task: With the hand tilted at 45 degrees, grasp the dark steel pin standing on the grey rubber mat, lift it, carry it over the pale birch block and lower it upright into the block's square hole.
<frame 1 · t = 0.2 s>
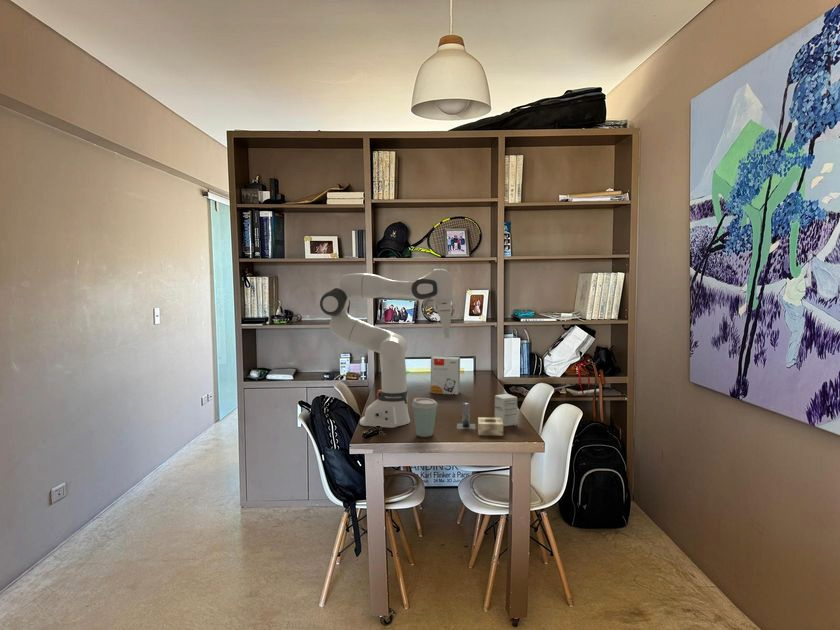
hand: (447, 337, 234), 38 cm above the table, tool pointing down, fingers open, 8 cm apart
rubber mat: (466, 427, 230), on the table
supplement box: (505, 424, 235), on the table
disposable coffee cup: (424, 436, 219), on the table
steel pin: (466, 426, 230), resting on rubber mat
hard drive box: (445, 393, 297), on the table
birch block: (490, 432, 223), on the table
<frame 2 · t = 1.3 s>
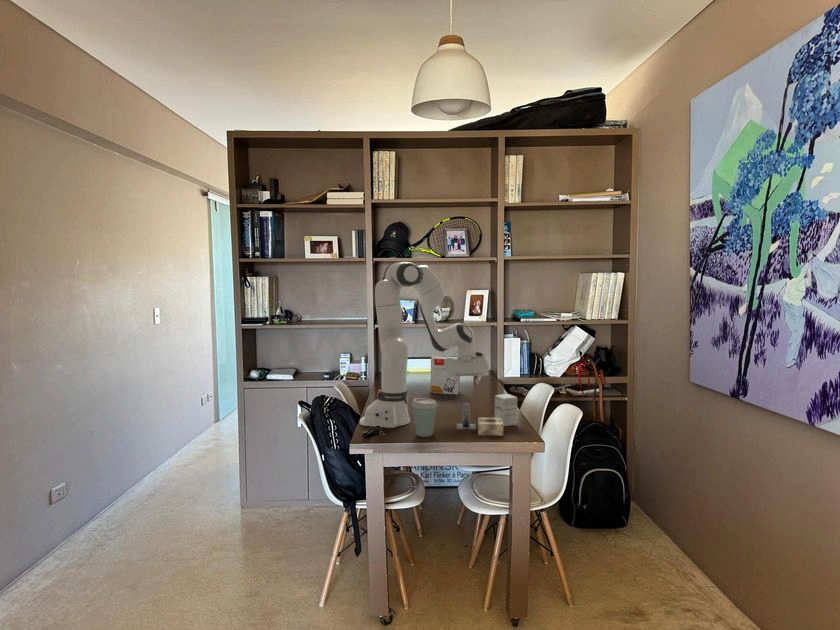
hand: (466, 383, 241), 17 cm above the table, tool tilted 45°, fingers open, 8 cm apart
nothing on the table moved.
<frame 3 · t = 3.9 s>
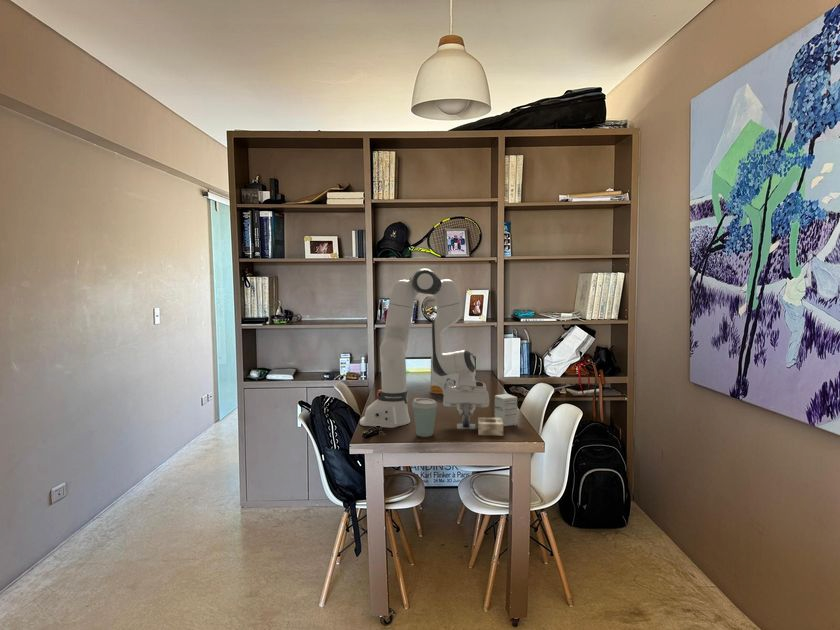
hand: (466, 414, 229), 6 cm above the table, tool tilted 45°, fingers closed on steel pin, 3 cm apart
steel pin: (466, 426, 230), resting on rubber mat, touching gripper
everything else where it was.
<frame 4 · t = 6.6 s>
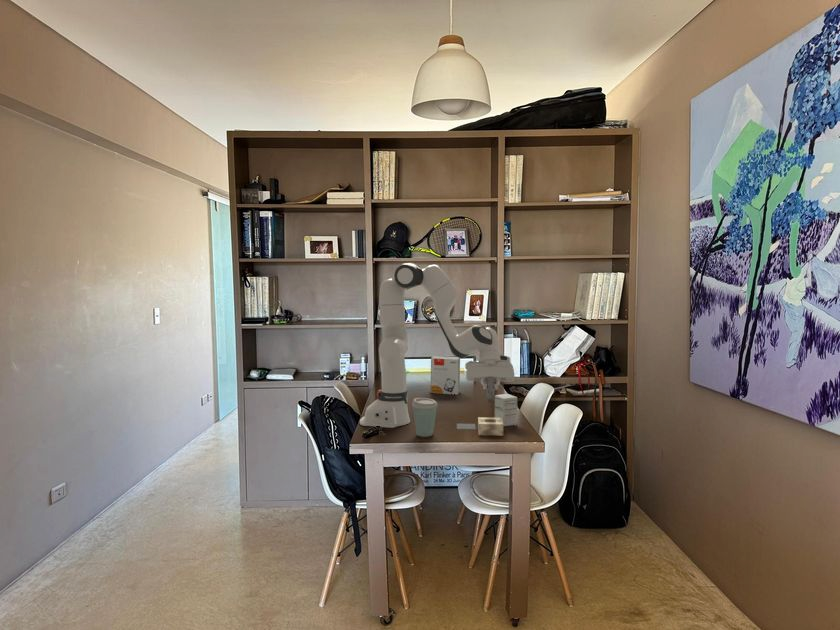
hand: (490, 388, 221), 19 cm above the table, tool tilted 45°, fingers closed on steel pin, 3 cm apart
steel pin: (490, 401, 222), point 13 cm above the table, touching gripper
everything else where it was.
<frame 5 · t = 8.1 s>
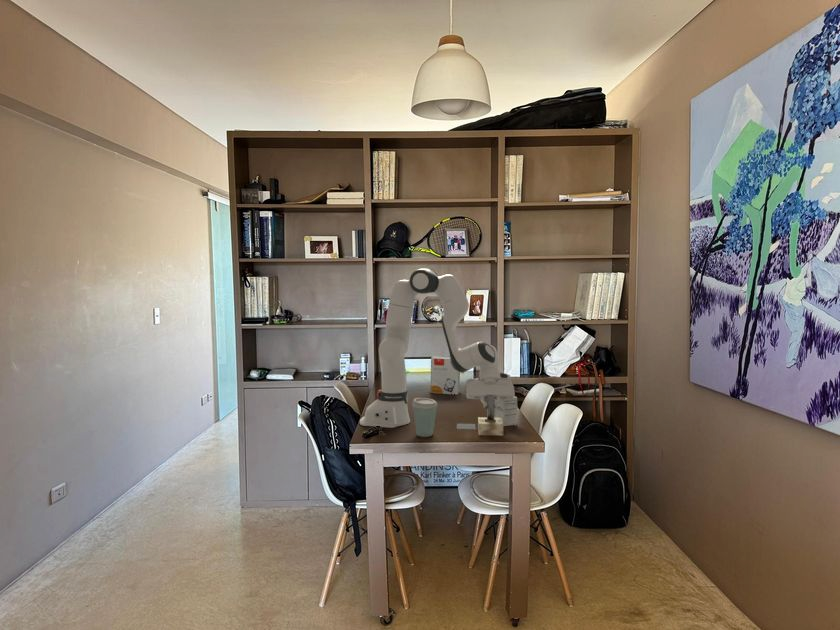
hand: (490, 407, 221), 11 cm above the table, tool tilted 45°, fingers closed on steel pin, 3 cm apart
steel pin: (490, 419, 222), point 6 cm above the table, touching gripper
everything else where it was.
when the fingers open (7 cm above the table, at t = 9.3 s): steel pin drops 2 cm, resting in birch block.
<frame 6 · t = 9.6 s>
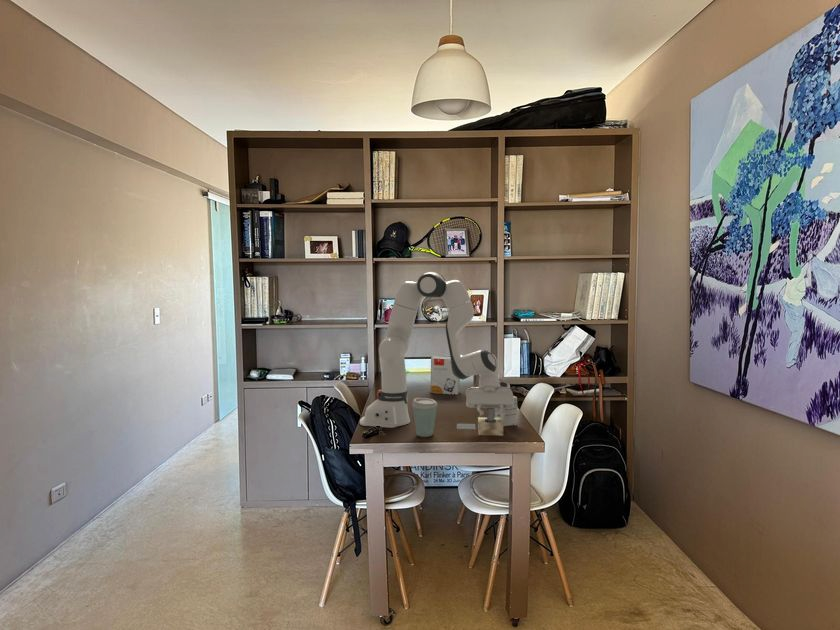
hand: (490, 415, 221), 7 cm above the table, tool tilted 45°, fingers open, 6 cm apart
steel pin: (490, 432, 223), resting in birch block
everything else where it was.
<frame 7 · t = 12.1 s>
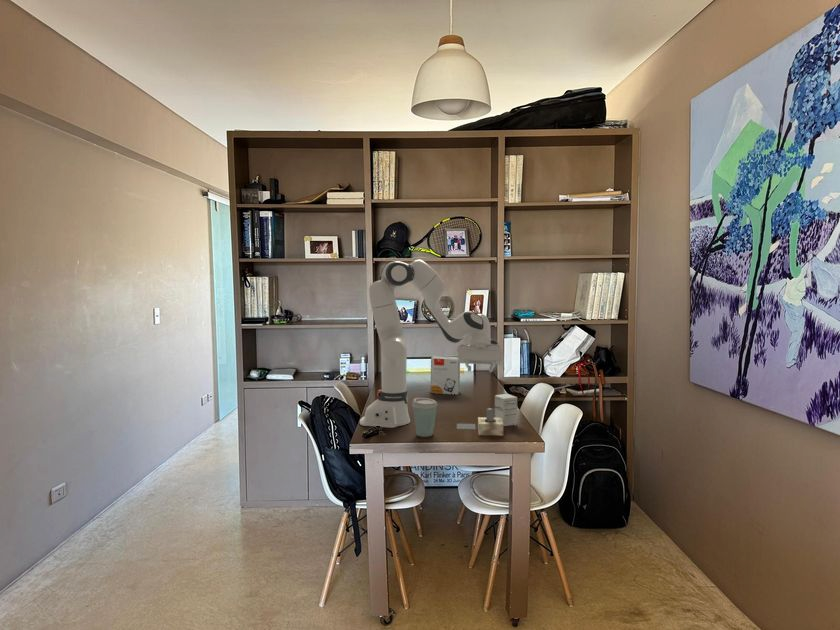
hand: (480, 370, 232), 24 cm above the table, tool tilted 45°, fingers open, 8 cm apart
nothing on the table moved.
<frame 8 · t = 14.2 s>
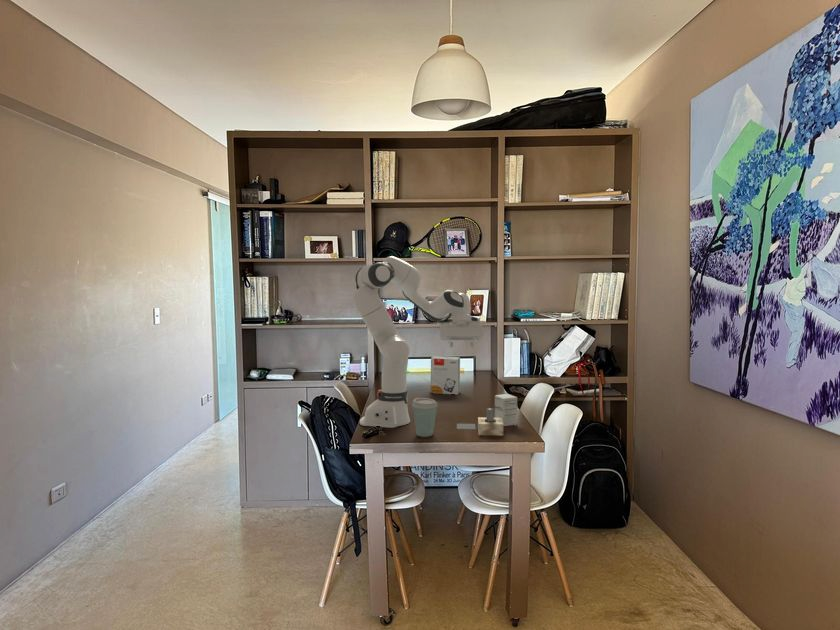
hand: (461, 346, 241), 33 cm above the table, tool tilted 45°, fingers open, 8 cm apart
nothing on the table moved.
at the end: steel pin 0.1 cm off-centre on the birch block, point 0.0 cm above the birch block's base; steel pin tilted 0°; the gripper is holding nothing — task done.
